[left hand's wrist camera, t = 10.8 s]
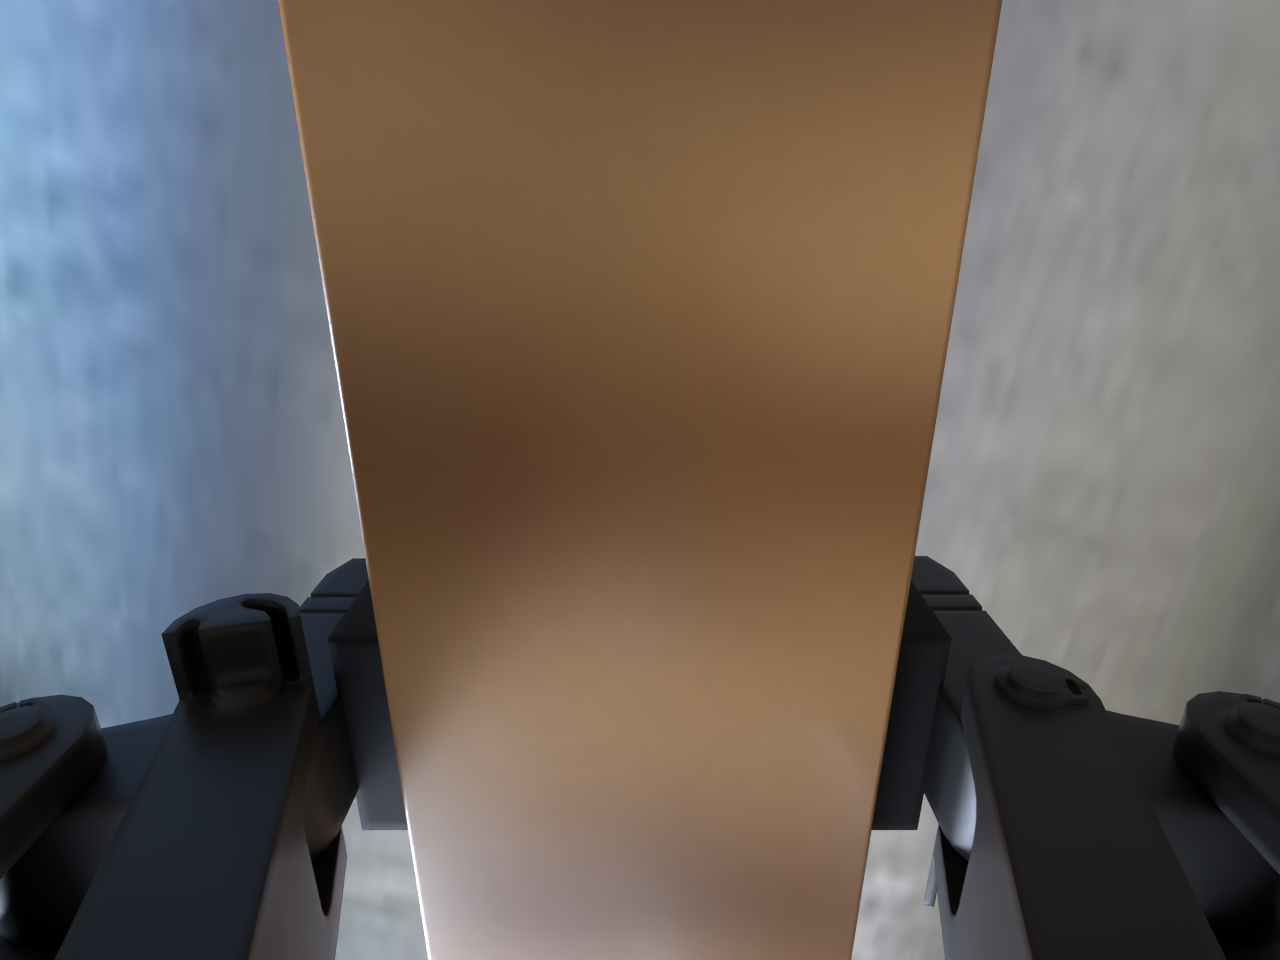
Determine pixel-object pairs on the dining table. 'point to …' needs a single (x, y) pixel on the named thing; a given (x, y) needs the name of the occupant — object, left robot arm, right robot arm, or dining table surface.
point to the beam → (639, 437)
